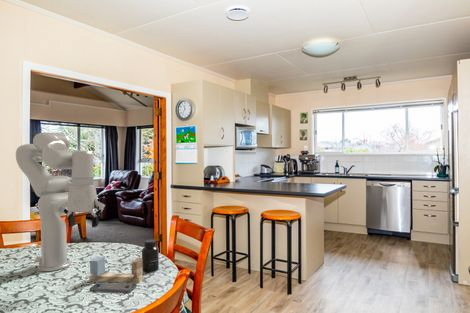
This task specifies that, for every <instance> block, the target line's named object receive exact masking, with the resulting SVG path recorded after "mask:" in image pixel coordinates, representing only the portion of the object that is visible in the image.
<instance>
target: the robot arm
mask: <svg viewBox="0 0 470 313" xmlns="http://www.w3.org/2000/svg"><path fill="white" fill-rule="evenodd" d="M70 147H71V139H70V138H69V136H68V135H67V134H65V133H63V132H46V131H45V132H38V133H37V134H36V135H34V136H33V138H32V143H28V144H27V143H26V144H22V145H20V146H19V145H18V147H17V148H16V150H15V160H16V163H17V165H18V168H19V169H20V170H21V172H22V173H23V174H24V175H25V176H26V177H27V179H28V181H29V183H30V185H31V188H32V190H33V192H34V193H35V195H36V196H37V197H39V199H38V202H37V208H38V213H39V218H40V239H41V240H40V244H41V246H40V248H41V250H40V252H41V253H40V254H41V255H39V256H38V255H37V256H36V257H35V258H34V262H35V263H38V265H37V267H36V270H37V271H40V272H54V271H59V270H63V269H66V268H68V267H69V266H71V264H72V261H71V260H70V259H68V255H67V254H68V253H67V251H68V248H67V242H68V241H67V227H68V228H71V227H75V226H76V216H75V213H90V214H91V216H92V217H91V227H92V228H96V227H98V226H99V222H100V221H99V219H100V218H99V216H101V214H102V213H103V212H104V211H103V210H104V209H105V207H106V205H105V204H104V203H103V202H100V201H98V195H97V193H98V192H97V189H96V185H94V153H93V151H91V150H77V149H75V150H74V149H72V150H71V149H70ZM41 163H44V165H46V166H47V167H48V168H50V169H53V170H71V177H69V176H67V175H51V174H50V172H49V170H48V169H47V168H46V167H45V166H44V165H42V164H41ZM62 215H66V217H67V222H65V220H64V219H63V218H62V217H61V216H62ZM66 223H67V224H68V226H67V224H66Z"/></svg>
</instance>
